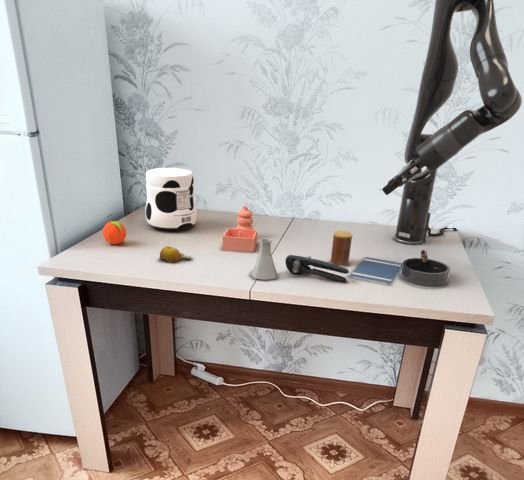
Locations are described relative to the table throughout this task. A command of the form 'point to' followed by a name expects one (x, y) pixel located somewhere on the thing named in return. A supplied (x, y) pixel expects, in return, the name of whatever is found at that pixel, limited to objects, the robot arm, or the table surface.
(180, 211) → the milk container
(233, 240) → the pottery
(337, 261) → the chocolate tin
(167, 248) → the fruit
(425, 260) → the pan handle
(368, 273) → the tea towel
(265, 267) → the flask
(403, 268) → the pan
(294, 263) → the can opener
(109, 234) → the clementine
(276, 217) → the table surface
